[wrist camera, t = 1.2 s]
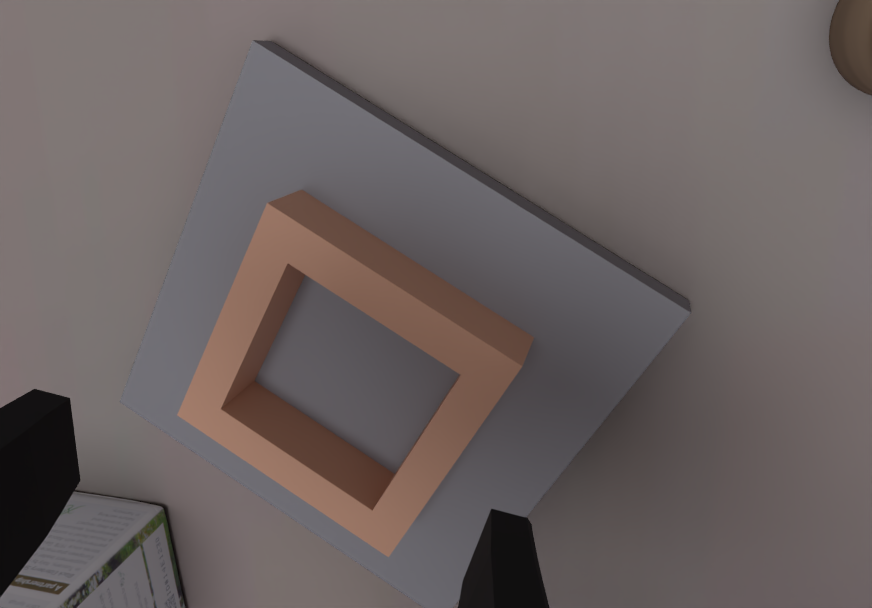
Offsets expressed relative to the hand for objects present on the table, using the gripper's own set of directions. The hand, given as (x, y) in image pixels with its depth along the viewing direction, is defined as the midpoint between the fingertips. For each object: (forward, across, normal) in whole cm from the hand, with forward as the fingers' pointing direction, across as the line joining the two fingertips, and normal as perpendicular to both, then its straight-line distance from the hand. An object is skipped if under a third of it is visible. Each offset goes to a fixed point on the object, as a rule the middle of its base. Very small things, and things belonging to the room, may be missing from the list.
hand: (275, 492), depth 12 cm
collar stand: (+10, 0, +5) cm, 11 cm away
